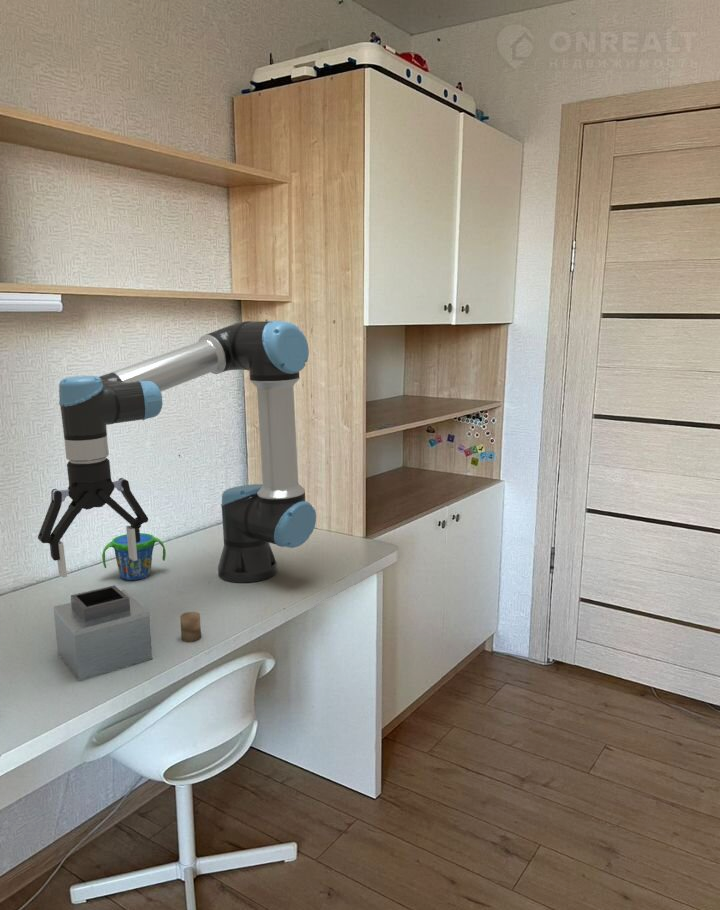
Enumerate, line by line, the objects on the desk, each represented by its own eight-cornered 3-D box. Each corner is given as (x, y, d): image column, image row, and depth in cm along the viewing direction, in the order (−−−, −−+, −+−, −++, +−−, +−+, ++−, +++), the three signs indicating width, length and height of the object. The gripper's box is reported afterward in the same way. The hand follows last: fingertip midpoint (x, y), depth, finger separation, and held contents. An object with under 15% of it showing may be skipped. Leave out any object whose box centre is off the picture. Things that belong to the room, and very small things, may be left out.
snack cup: (166, 566, 192) (164, 530, 190) (167, 580, 182) (164, 541, 180) (105, 572, 188) (102, 535, 186) (102, 586, 178) (99, 547, 176)
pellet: (196, 632, 152) (194, 610, 151) (204, 638, 149) (203, 616, 148) (178, 637, 150) (177, 615, 149) (186, 644, 147) (184, 621, 146)
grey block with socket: (127, 634, 151) (122, 578, 149) (152, 658, 140) (148, 598, 138) (58, 653, 143) (52, 594, 140) (79, 681, 132) (73, 617, 130)
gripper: (144, 447, 144) (153, 547, 149) (11, 466, 130) (25, 576, 134) (159, 453, 138) (167, 557, 143) (21, 473, 124) (35, 588, 128)
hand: (99, 567), depth 138 cm, fingers open, 13 cm apart
